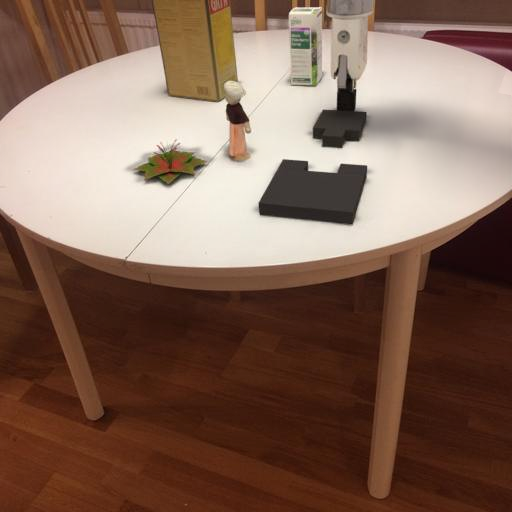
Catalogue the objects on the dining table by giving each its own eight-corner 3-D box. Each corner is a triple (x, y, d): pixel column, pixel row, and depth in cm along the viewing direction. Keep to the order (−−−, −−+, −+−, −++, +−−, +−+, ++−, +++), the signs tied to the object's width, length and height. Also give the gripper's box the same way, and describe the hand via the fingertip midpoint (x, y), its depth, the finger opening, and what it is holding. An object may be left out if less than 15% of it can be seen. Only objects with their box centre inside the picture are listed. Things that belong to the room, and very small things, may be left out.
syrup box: (290, 85, 112) (287, 13, 104) (297, 76, 117) (295, 5, 108) (316, 86, 111) (315, 12, 102) (322, 76, 115) (322, 5, 106)
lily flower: (119, 174, 86) (113, 149, 83) (173, 146, 93) (169, 122, 90) (168, 195, 80) (162, 168, 77) (222, 163, 86) (219, 137, 84)
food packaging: (241, 86, 114) (228, -44, 99) (219, 102, 108) (201, -35, 93) (190, 81, 120) (170, -43, 104) (166, 96, 113) (141, -34, 98)
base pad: (366, 177, 79) (367, 165, 78) (352, 224, 69) (353, 212, 68) (283, 170, 83) (283, 159, 82) (259, 215, 73) (258, 202, 72)
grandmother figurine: (217, 153, 89) (207, 79, 82) (235, 145, 91) (226, 73, 83) (245, 168, 84) (237, 90, 77) (263, 159, 86) (257, 83, 79)
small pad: (366, 122, 95) (366, 111, 93) (356, 148, 87) (356, 137, 85) (322, 119, 97) (322, 109, 96) (308, 145, 89) (308, 134, 88)
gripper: (366, 15, 78) (359, 130, 90) (379, -8, 89) (372, 97, 101) (316, 15, 80) (316, 127, 92) (335, -8, 91) (333, 95, 103)
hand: (346, 111), depth 96 cm, fingers closed
